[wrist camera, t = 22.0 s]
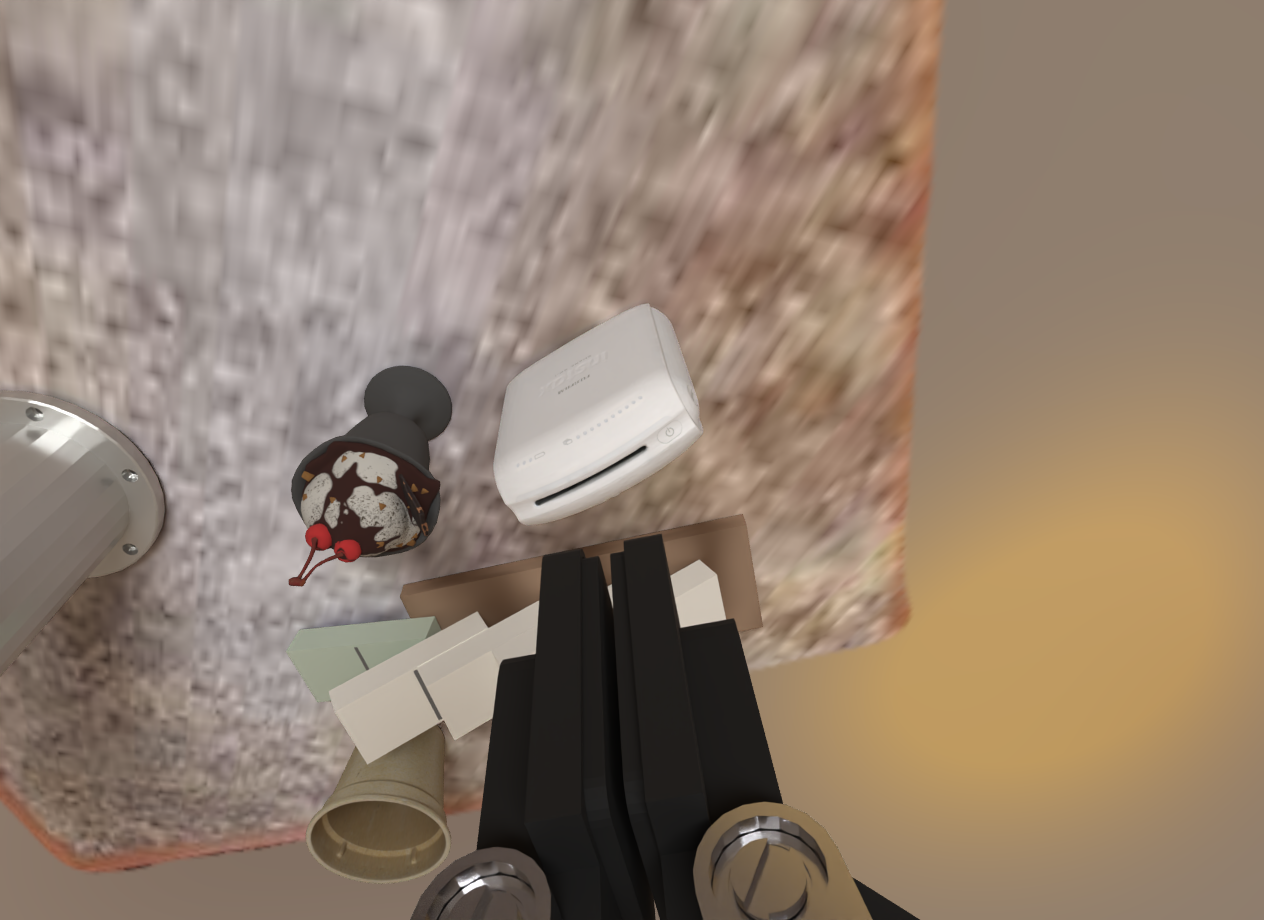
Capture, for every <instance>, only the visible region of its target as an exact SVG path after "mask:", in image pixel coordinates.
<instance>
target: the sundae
mask: <svg viewBox="0 0 1264 920" xmlns="http://www.w3.org/2000/svg"><path fill="white" fill-rule="evenodd" d="M364 403H365V409H366V412H367V414H368V417H366V418H365V419H364V420H362V421H361V422H360V423H358V424H357V425H356V426H355V427H353V428H352V429H351V430H350V431H349V432H348V433H347V434H346V435H344V436H339V437H335V438H333V439H331V440H329V441H326V442H324V443H322V444H321V445H320V446H318V447H317V448H316V449H314V450H313V451H312V452H311V453H310V454H308V455H307V456H306V457H305V458H304V459H303V460H302V462H301V463H300V465H299V467H298V468H297V470H296V472H295V474H294V477H293V479H292V487H291V492H292V499H293V502H294V504H295V506H296V509H297V511H298V513H299V514H300V516H301V518H302V520H303V521H304V523H305V525H306V527H307V528H308V530H307V531H306V535H305V538H306V542H307V543H308V545H309V546H311V547H312V548H311V552H310V555H309V557H308V559H307V561H306V563H305V565H304V567H303V569H302V571H301V573H300V574H299V576H298V577H293V578H291V579H289V585H290V586H303V585H304V584H305V582H306V580H307V578H308V577H309V576H310V574H311V573H312V572H313V571H314V569H315V568H316V567H318V566H320V565H321V564H323V563H325V562H327V561H330V560H333V559H336V558H338V559H339V560H341V561H343V562H353V561H355V560H356V559H358V558H359V557H380V556H387V555H392V554H397V553H401V552H405V551H409V550H411V549H413V548H415V547H417V546H418V545H420V544H421V543H423V542H424V541H425V540H426V539H427V537H428V536H429V535H430V534H431V532H432V530H433V529H434V527H435V525H436V523H437V519H438V515H439V510H440V493H439V489H440V481H438V480H436V479H435V478H434V477H433V476H432V474H431V473H430V472H429V462H430V456H429V445H428V440H431V439H432V438H434V437H436V436H438V435H439V434H440V433H441V432H443V431H444V429H445V428H446V426H447V425H448V423H449V421H450V419H451V413H452V403H451V400H450V396H449V394H448V392H447V390H446V388H445V387H444V386H443V385H442V383H441V382H440V381H439V380H438V379H437V378H436V377H434V376H433V375H431V374H430V373H428V372H426V371H424V370H422V369H420V368H415V367H410V366H396V367H391V368H388V369H385V370H383V371H381V372H380V373H378V374H377V375H376V376H374V377H373V378H372V379H371V381H370V382H369V384H368V386H367V388H366V390H365V397H364ZM329 548H332V549H334V552H335V554H336V555H334V556H331V557H329V558H327V559H325V560H323V561H321V562H319V563H318V564H316V565H315V566H314V567H313V568H312V569H311V570H310V571H309V572H308V574H307V575H306V576H305V577H304V578H303V579H301V578H302V575H303V574H304V572H305V570H306V568H307V567H308V565H309V563H310V561H311V559H312V557H313V555H314V552H315V550H318V551H324V550H326V549H329Z"/></svg>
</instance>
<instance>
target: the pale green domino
mask: <svg viewBox="0 0 1264 920" xmlns="http://www.w3.org/2000/svg"><path fill="white" fill-rule="evenodd" d="M440 631H442V630H441V628H440V626H439V624H438V622H437V620H436V618H435V616H432V617H422V618H412V619H402V620H392V621H382V622H372V623H362V624H352V625H343V626H333V627H323V628H313V629H303V630H299V632H298V633H297V635H296V636H295V638H294V640H293V641H292V643H291V644H290V646H289V648H288V649H287V651H286V653H287V654H288V656H289V657H290V659H291V661H292V662H293V664H294V665H295V667H296V669H297V670H298V672H299V673H300V675H301V677H302V678H303V680H304V681H305V683H306V685H307V686H308V688H309V689H310V691H311V693H312V694H313V696H314V697H315V699H316V701H317V702H325V701H331V698H330V695H329V692H328V691H330V690H332V689H334V688H335V687H337V686H339V685H341V684H343V683H345V682H347V681H348V680H350V679H352V678H354V677H356V676H358V675H360V674H362V673H363V672H365V671H367V670H369V669H371V668H373V667H375V666H376V665H378V664H380V663H382V662H384V661H386V660H388V659H389V658H391V657H393V656H395V655H397V654H399V653H401V652H403V651H404V650H406V649H408V648H410V647H412V646H414V645H416V644H417V643H419V642H421V641H423V640H425V639H427V638H429V637H431V636H432V635H434V634H436V633H438V632H440Z"/></svg>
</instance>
